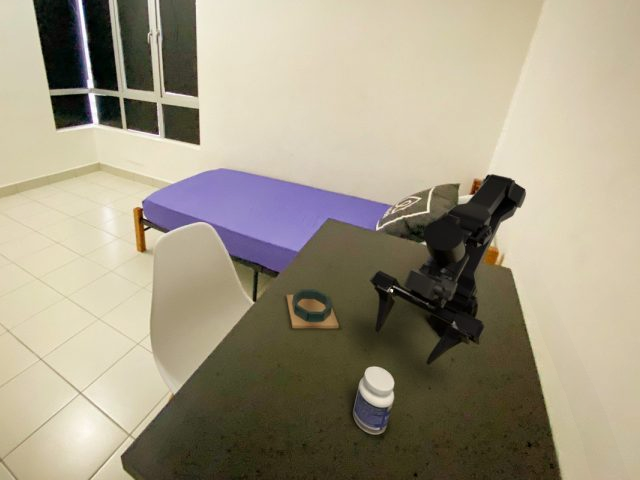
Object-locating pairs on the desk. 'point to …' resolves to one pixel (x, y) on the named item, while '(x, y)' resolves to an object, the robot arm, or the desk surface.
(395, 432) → the desk surface
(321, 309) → the dock
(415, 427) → the desk surface
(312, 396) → the desk surface
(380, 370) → the pill bottle
